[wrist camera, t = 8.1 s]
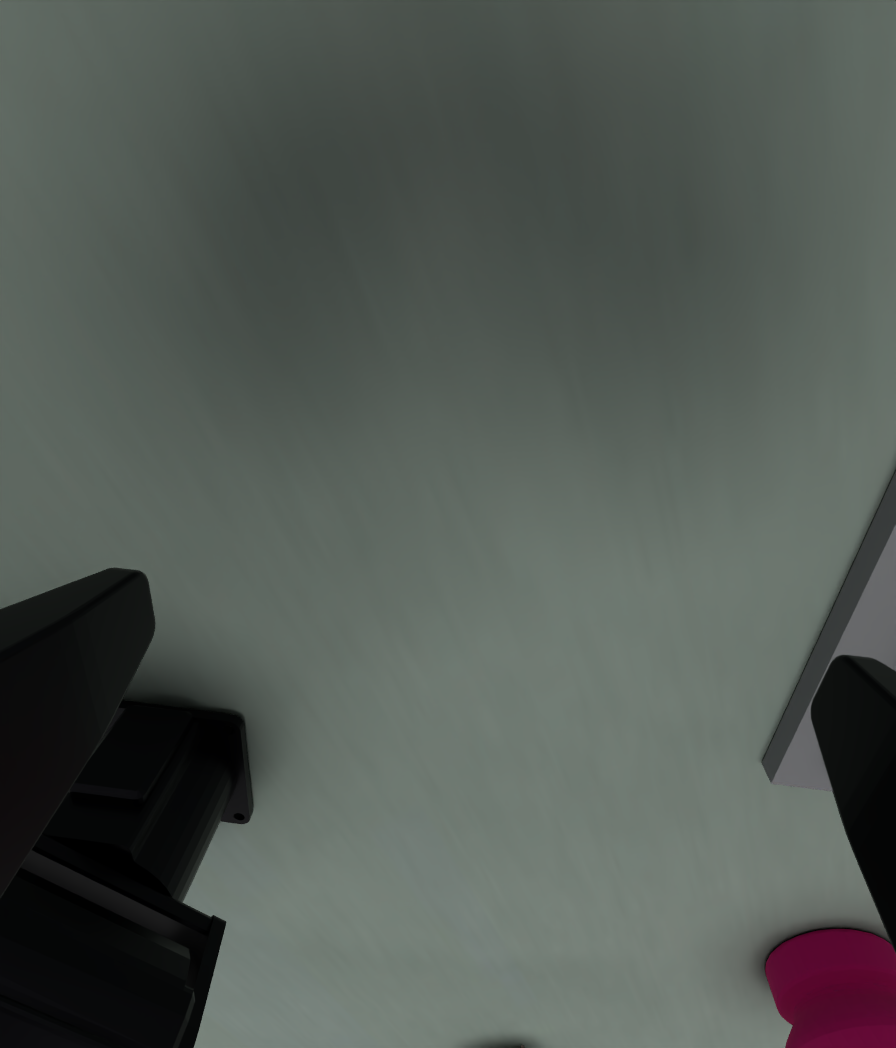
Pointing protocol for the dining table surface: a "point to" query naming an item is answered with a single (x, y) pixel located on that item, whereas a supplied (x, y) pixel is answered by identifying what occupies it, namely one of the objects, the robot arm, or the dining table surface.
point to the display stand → (842, 649)
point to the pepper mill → (835, 989)
